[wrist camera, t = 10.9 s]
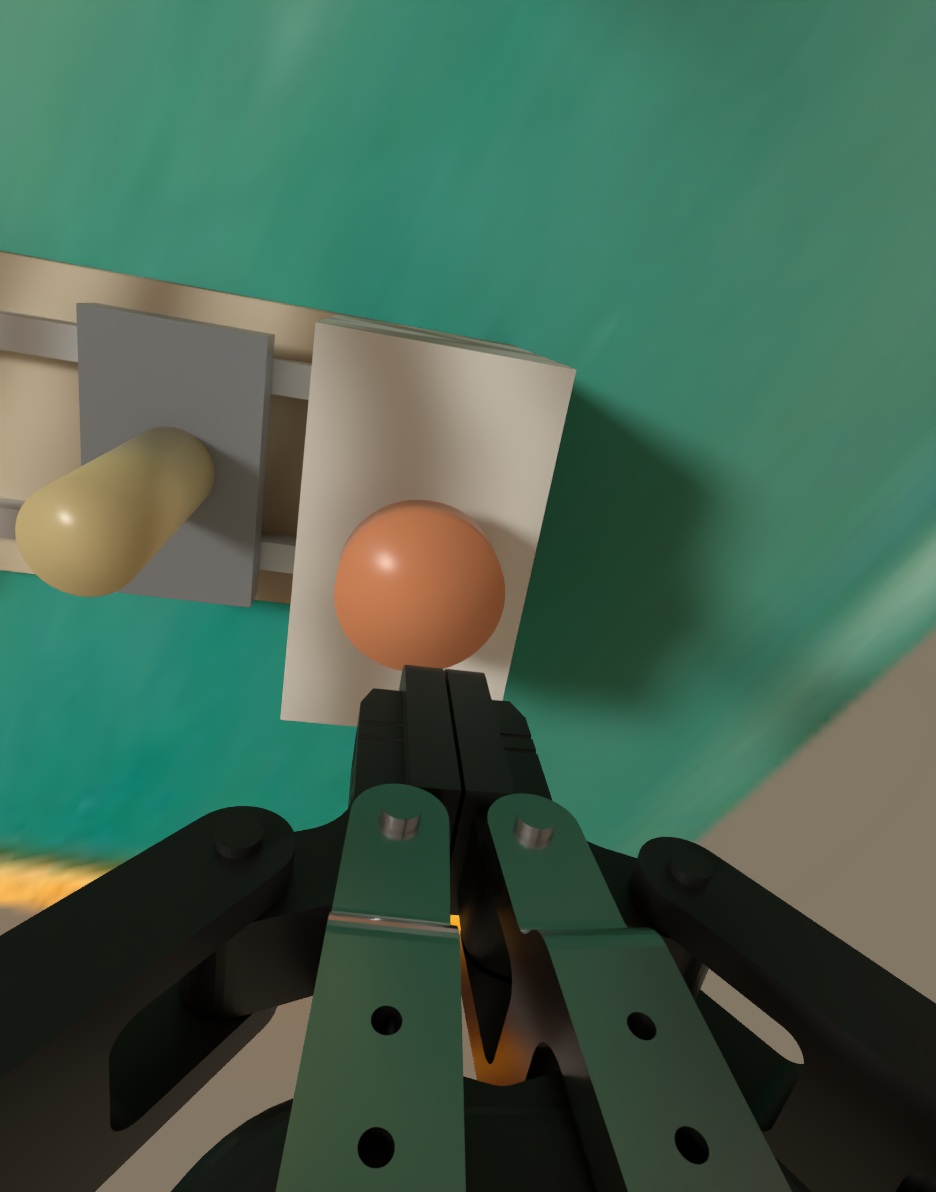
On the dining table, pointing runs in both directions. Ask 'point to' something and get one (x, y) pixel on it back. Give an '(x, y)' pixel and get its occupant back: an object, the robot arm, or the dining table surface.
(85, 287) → the rail board
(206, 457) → the carriage
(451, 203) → the dining table surface
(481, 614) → the button
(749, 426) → the dining table surface
